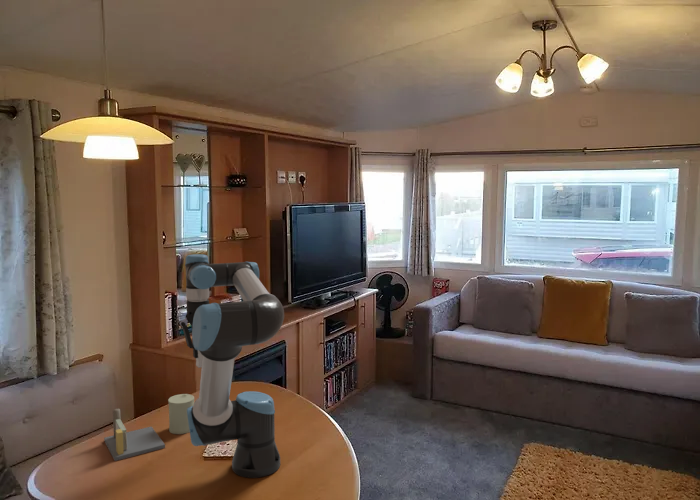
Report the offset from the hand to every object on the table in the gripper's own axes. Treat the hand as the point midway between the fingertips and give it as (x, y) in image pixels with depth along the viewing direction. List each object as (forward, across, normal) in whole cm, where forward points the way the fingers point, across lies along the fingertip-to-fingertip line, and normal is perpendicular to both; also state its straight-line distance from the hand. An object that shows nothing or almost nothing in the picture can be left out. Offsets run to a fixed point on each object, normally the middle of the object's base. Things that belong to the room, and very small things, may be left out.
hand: (199, 366), depth 186 cm
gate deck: (+26, +20, -9) cm, 35 cm away
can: (+27, +3, -12) cm, 29 cm away
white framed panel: (+25, +25, -9) cm, 36 cm away
